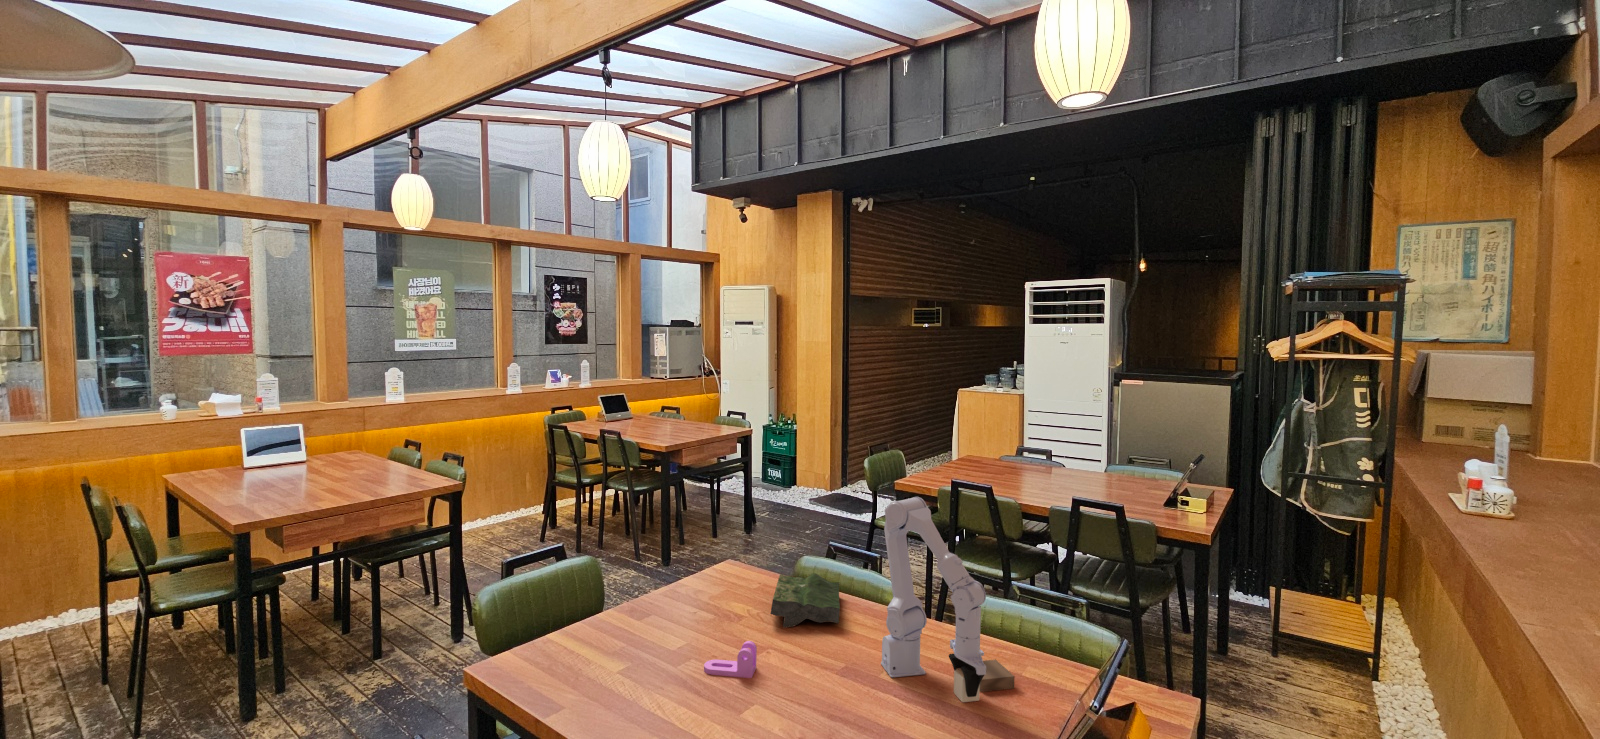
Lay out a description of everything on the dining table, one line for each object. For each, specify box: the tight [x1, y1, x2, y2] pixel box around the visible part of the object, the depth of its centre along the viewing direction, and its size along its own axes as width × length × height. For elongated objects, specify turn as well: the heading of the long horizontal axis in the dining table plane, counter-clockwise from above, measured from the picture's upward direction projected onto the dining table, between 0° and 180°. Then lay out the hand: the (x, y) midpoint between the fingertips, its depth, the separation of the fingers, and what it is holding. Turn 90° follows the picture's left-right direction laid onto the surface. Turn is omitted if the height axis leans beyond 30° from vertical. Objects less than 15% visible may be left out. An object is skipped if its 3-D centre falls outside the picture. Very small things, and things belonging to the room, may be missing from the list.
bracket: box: [703, 640, 758, 679], centre depth 167 cm, size 13×6×7 cm, turn 82°
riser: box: [980, 659, 1016, 693], centre depth 164 cm, size 9×9×3 cm
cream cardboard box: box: [953, 668, 981, 703], centre depth 156 cm, size 4×4×6 cm
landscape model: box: [770, 573, 841, 628], centre depth 207 cm, size 26×20×10 cm
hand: (966, 690), depth 156 cm, fingers closed on cream cardboard box, 4 cm apart
